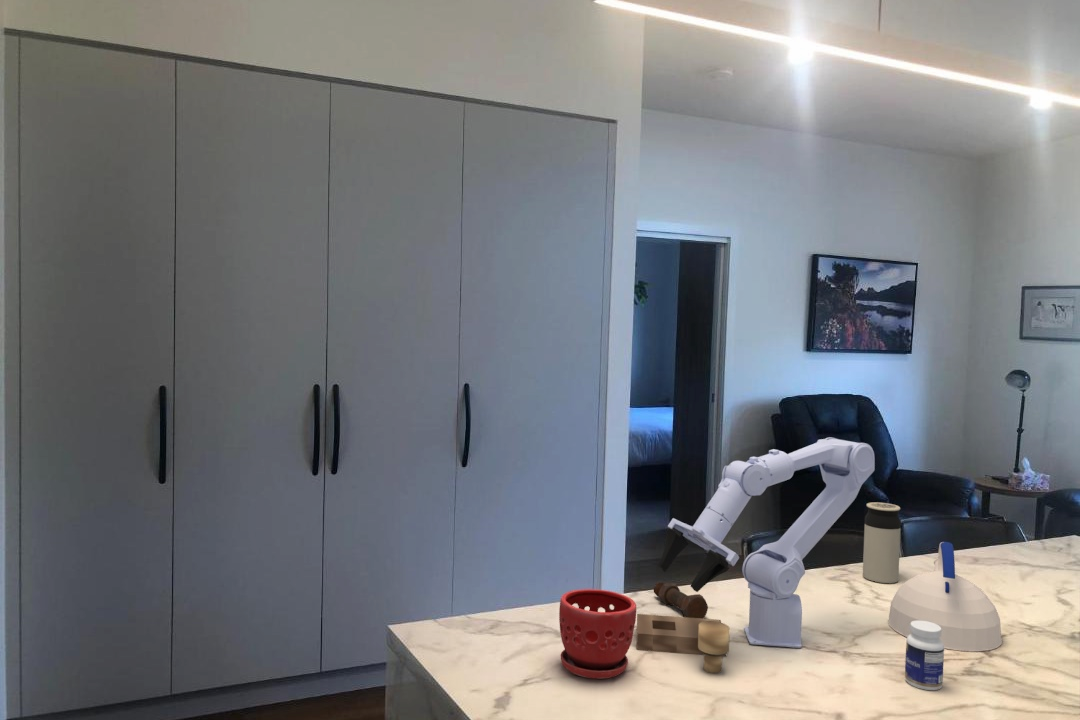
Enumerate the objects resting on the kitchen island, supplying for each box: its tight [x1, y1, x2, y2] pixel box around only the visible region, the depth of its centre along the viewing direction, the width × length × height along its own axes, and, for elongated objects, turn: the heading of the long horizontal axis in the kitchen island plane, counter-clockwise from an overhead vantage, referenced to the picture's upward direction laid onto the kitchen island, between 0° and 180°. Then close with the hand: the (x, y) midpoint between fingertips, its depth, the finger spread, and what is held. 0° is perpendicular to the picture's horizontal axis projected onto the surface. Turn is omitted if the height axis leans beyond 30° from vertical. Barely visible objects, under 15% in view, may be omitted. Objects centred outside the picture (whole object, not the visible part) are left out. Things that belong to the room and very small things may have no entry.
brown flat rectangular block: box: [636, 613, 727, 657], centre depth 144 cm, size 16×10×3 cm, turn 83°
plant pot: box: [558, 588, 637, 680], centre depth 131 cm, size 13×13×12 cm
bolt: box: [653, 581, 709, 619], centre depth 162 cm, size 6×5×15 cm
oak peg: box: [698, 621, 730, 674], centre depth 132 cm, size 5×5×8 cm
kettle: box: [887, 541, 1003, 653], centre depth 153 cm, size 20×21×18 cm
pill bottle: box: [904, 621, 945, 691], centre depth 129 cm, size 6×6×10 cm
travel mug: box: [862, 501, 902, 584], centre depth 186 cm, size 8×8×18 cm
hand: (677, 578), depth 138 cm, fingers open, 7 cm apart
